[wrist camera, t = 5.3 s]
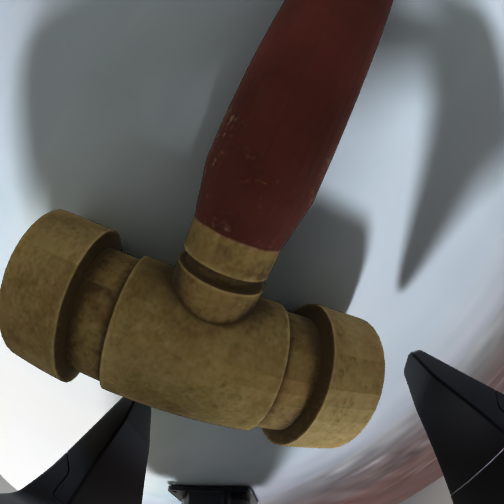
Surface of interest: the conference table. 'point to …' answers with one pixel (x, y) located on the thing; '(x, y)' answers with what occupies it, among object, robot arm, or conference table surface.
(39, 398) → the conference table surface
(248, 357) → the gavel
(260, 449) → the conference table surface
